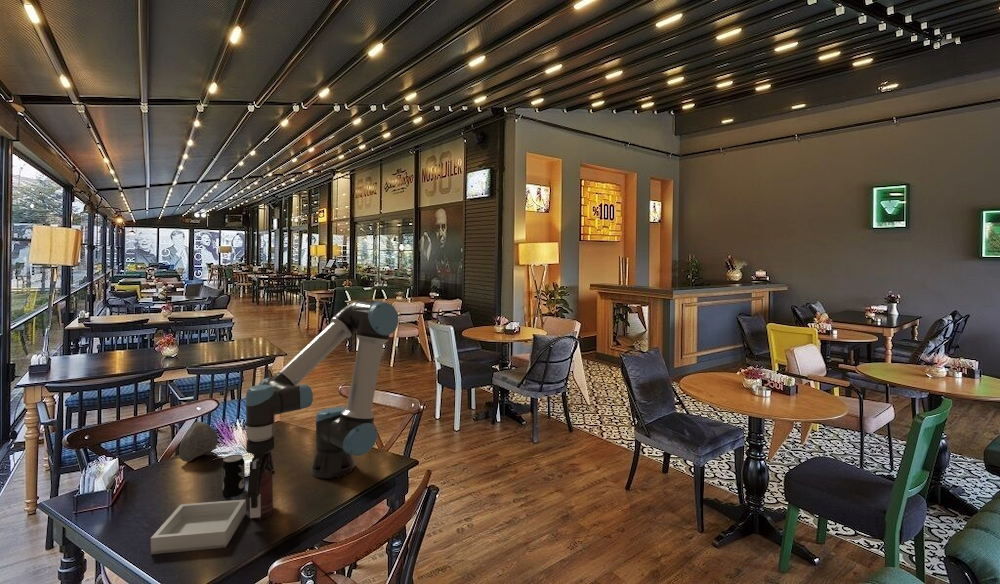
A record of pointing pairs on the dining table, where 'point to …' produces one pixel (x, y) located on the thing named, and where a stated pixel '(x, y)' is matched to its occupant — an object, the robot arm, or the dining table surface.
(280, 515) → the dining table surface
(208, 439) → the decorative stone
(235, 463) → the beverage can
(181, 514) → the bus tub
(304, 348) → the robot arm
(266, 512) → the can
